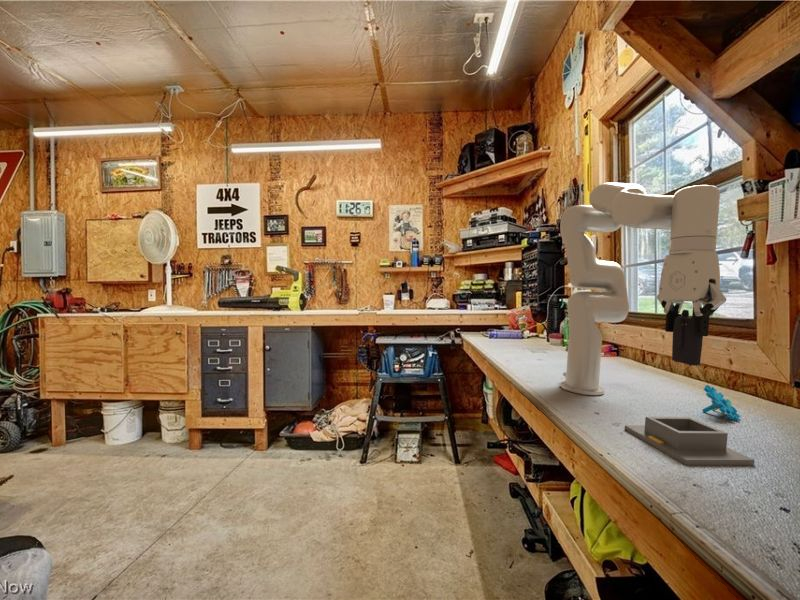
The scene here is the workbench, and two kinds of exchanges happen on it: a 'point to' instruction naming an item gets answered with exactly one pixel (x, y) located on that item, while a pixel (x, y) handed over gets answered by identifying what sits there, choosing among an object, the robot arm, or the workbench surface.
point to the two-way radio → (686, 341)
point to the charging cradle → (689, 441)
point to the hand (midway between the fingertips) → (685, 333)
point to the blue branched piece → (720, 403)
